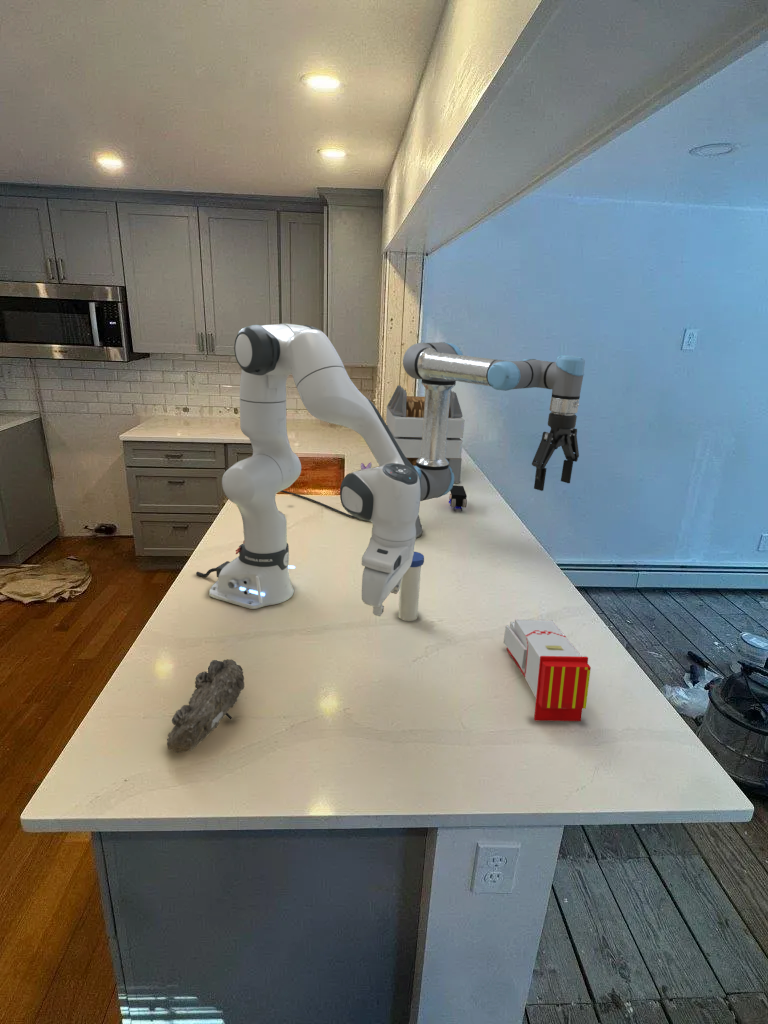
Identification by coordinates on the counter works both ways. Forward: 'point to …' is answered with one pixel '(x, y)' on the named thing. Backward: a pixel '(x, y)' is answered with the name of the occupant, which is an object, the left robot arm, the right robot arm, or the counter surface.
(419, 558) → the lid
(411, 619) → the jar
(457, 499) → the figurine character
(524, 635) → the toy
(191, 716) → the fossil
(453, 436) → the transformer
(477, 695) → the counter surface
